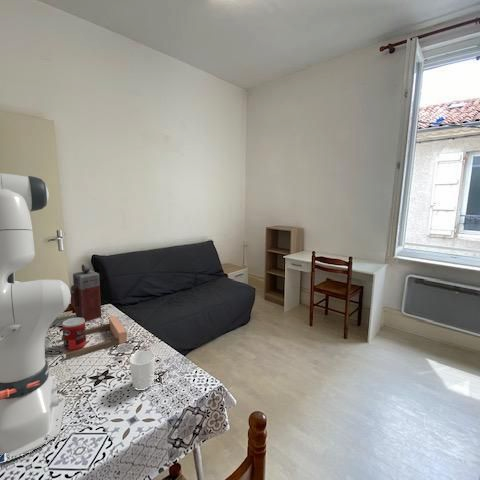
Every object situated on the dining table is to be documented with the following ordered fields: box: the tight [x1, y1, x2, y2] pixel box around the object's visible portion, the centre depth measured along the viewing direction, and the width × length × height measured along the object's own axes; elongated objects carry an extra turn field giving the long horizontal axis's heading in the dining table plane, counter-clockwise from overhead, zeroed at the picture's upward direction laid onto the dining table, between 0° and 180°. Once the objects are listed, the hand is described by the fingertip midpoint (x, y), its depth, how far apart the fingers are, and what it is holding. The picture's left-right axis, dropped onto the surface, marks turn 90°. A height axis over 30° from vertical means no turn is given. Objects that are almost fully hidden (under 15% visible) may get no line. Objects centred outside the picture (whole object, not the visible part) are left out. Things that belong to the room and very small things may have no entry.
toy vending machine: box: [70, 263, 103, 323], centre depth 135 cm, size 9×11×28 cm
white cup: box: [129, 350, 156, 389], centre depth 90 cm, size 8×8×10 cm
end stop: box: [108, 315, 128, 345], centre depth 122 cm, size 18×3×5 cm, turn 38°
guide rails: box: [61, 323, 120, 360], centre depth 115 cm, size 18×19×2 cm
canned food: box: [61, 316, 87, 352], centre depth 111 cm, size 8×8×11 cm
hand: (48, 341), depth 106 cm, fingers closed
